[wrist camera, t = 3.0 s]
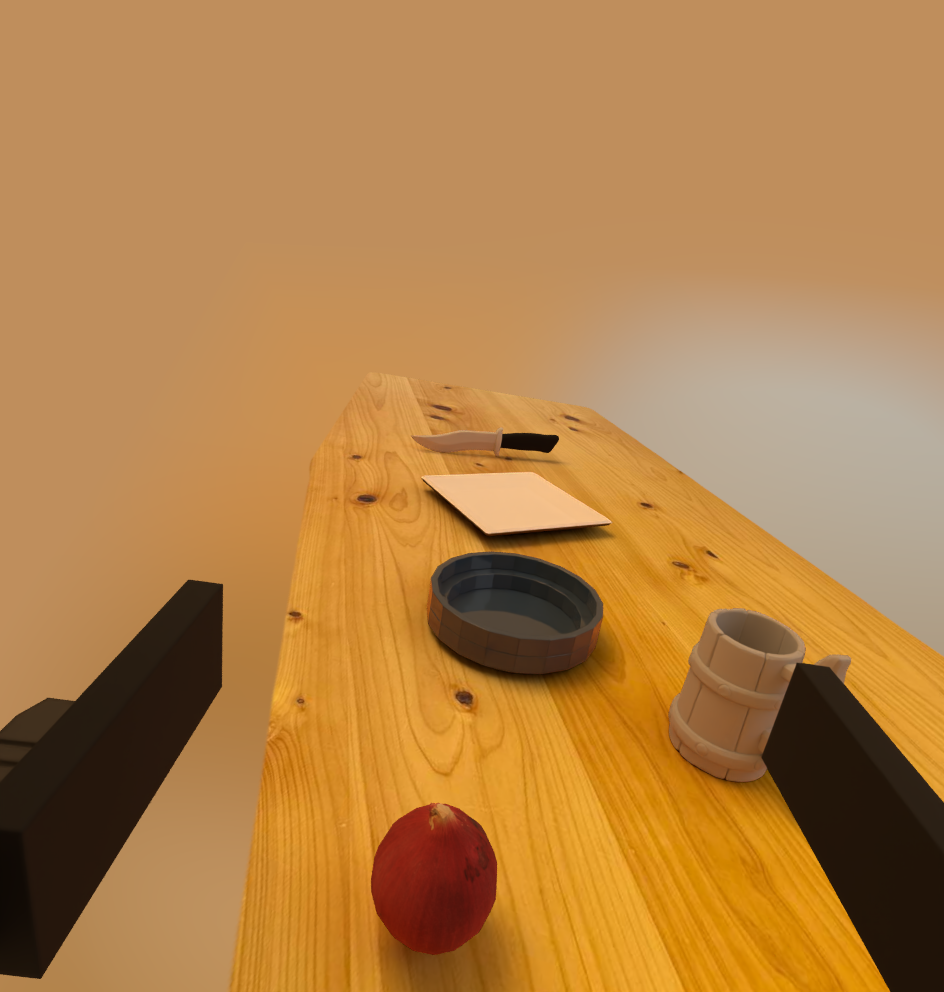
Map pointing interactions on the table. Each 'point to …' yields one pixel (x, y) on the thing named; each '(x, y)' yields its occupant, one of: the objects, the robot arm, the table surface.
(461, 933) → the onion
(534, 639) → the bowl
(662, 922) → the table surface
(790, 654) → the mug
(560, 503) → the plate
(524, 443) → the knife
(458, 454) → the table surface
